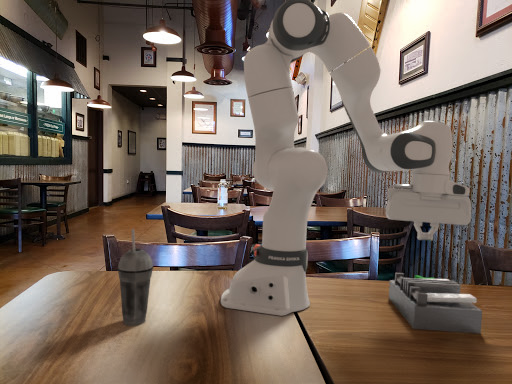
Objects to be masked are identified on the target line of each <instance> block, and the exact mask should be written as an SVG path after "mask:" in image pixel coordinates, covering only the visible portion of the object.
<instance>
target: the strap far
mask: <svg viewBox="0 0 512 384" xmlns="http://www.w3.org/2000/svg"><path fill="white" fill-rule="evenodd" d="M400 278H403V277H402V276H399V277H397V282H398V283H399V284H400ZM431 280H448V281H451V280H450V279H449V278H435V279H431Z"/></svg>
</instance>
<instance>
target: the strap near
mask: <svg viewBox="0 0 512 384" xmlns="http://www.w3.org/2000/svg"><path fill="white" fill-rule="evenodd" d="M417 293H420V292H419V291H417V290H415V291H413V292H412V296H413V297H414V298H415V299H416V295H417ZM426 294H428V297H427V302H459V303H472V304H476V303H477V301H478V299H477V297H475V296H474V295H472V293H471V294H470V293H460V294H444V293H426Z"/></svg>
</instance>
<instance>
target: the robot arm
mask: <svg viewBox="0 0 512 384" xmlns="http://www.w3.org/2000/svg"><path fill="white" fill-rule="evenodd" d="M307 53H310V54H314V55H315V56H317V57H318V58H319V59H320V60H321V61H322V63H323V65H324V67H325V69H326V71H327V72H328V73H329V76H330V77H331V79H332V81H333V83H334V84H335V87H336V89H337V92H338V93H339V96H340V98H341V99H340V100H341V103H342V105H343V108H344V110H345V112H346V115H347V117H348V119H349V121H350V124H351V126H352V128H353V130H354V132H355V134H356V136H357V138H358V141H359V143H360V147H361V153H362V158H363V161H364V163H365V165H366V166H367V168H368V169H370V170H371V171H372V172H375V173H377V174H378V173H381V174H383V173H389V172H401V171H402V172H403V171H404V172H405V171H406V172H407V171H411V179H410V184H399V183H394V184H392V185H390V186H389V187H388V188H387V192H386V198H387V201H386V202H387V203H386V208H385V214H384V215H385V218H387V219H388V220H393V221H394V220H395V221H404V222H413V226H414V228H415V230H416V232H417V233H416V234H417V236H416V238H417V240H419V241H434V234H435V233H436V232H437V231H438V229H440V228H439V227H440V224H444V225H445V224H446V225H457V226H459V225H461V226H467V225H469V224H470V223H471V220H472V203H471V199H470V198H469V197H468V196H469V195H470V192H471V190H470V189H471V188H470V187H468V186H466V185H463V184H460V183H457V182H455V181H452V180H450V179H451V171H450V163H451V161H452V155H453V133H452V130H451V127H450V126H449V125H448V124H447V123H444V122H441V121H434V120H424V121H420V122H419V124H418V125H416V126H414V127H412V128H409V129H406V130H402V131H400V132H396V133H395V132H394V133H392V134H391V133H390V134H387V133H386V132H384V131H383V130H382V128H381V127H380V124H379V122H378V120H377V118H376V115H375V113H374V110H373V108H372V105H371V96H372V94H373V91H374V90H375V88H376V86H377V84H378V83H379V80H380V77H381V67H380V63H379V60H378V56H377V55H376V52H375V51H374V49H373V48H372V46H371V44H370V42H369V40H368V39H367V38H366V36H365V34H364V33H363V31H362V30H361V28H360V27H359V26H358V25H357V23H355V21H354V20H353V18H352V17H351V16H350V15H348V14H347V13H344V12H336V13H332V14H328V12H326V11H325V10H323V9H321V8H320V7H318V6H317V5H316V4H315V3H313V2H312V1H310V0H286V1H284V2H283V3H282V4H281V5H280V6H279V7H278V8H277V10H276V11H275V13H274V16H273V19H272V20H271V23H270V25H269V30H268V35H267V40H266V42H265V43H263V44H259V45H256V46H255V47H252V48H250V50H249V51H248V52H247V53H246V54H245V55H244V58H243V71H244V73H243V74H244V75H243V76H244V84H245V89H246V94H247V99H248V104H249V109H250V114H251V118H252V122H253V127H254V137H255V141H254V142H255V158H254V161H253V165H252V175H253V179H254V180H255V181H256V183H257V184H259V185H260V186H262V187H263V188H265V189H267V190H268V191H272V192H273V193H272V197H271V200H270V203H269V206H268V208H267V210H266V211H265V212H264V214H263V217H262V238H261V239H262V241H261V244H259V243H258V244H257V243H256V244H255V245H254V246H253V248H252V249H253V260H252V261H251V262H249V263H247V264H245V266H244V267H242V268H240V269H239V270H238V271H237V272H235V273H234V275H233V278H232V279H231V282H230V287H229V288H227V289H225V290H224V291H223V293H222V294H221V297H220V304H221V306H223V308H226V309H233V310H238V311H247V312H251V313H252V312H254V313H261V314H266V315H272V316H273V315H274V316H281V317H282V316H286V315H288V314H291V313H294V312H300V311H303V310H306V309H307V308H308V307H310V304H311V303H310V299H309V295H308V294H309V293H308V287H307V277H306V276H307V275H306V272H307V268H308V260H309V258H308V256H309V255H308V254H309V253H308V248H307V233H308V232H307V231H308V230H307V229H308V220H309V214H310V210H311V208H312V204H313V201H314V199H315V196H316V194H317V192H318V191H319V190H320V189H321V188H322V186H324V184H325V183H326V181H327V177H328V164H327V160H326V159H325V157H324V156H323V155H322V154H321V153H319V152H318V151H316V150H313V149H311V148H306V147H300V146H299V147H295V132H296V128H297V126H298V123H299V112H298V107H297V102H296V96H295V93H294V88H293V83H292V79H291V76H290V75H291V74H290V73H291V72H290V68H291V67H290V65H291V64H292V63H294V62H295V61H297V60H299V59H301V58H302V57H303V56H304V55H305V54H307ZM423 223H429V226H430V227H431V228H430V229H429V230H428V232H423V231H422V228H421V227H423Z"/></svg>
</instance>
